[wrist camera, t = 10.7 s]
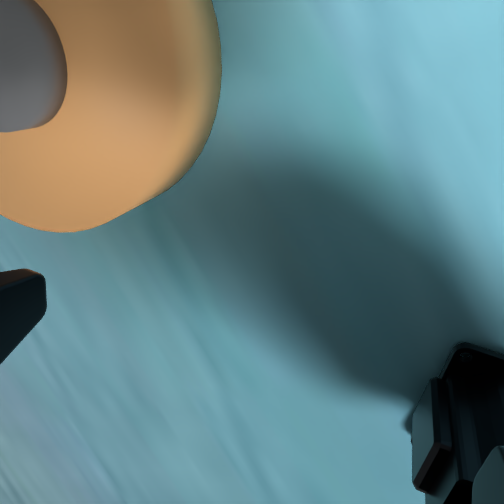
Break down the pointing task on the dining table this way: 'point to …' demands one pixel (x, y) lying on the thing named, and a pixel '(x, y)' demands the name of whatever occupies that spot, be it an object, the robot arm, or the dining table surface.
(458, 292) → the dining table surface
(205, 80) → the orange and grey base
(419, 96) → the dining table surface
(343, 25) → the dining table surface
